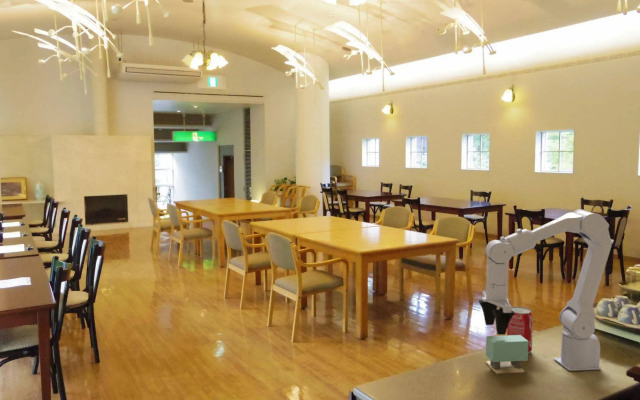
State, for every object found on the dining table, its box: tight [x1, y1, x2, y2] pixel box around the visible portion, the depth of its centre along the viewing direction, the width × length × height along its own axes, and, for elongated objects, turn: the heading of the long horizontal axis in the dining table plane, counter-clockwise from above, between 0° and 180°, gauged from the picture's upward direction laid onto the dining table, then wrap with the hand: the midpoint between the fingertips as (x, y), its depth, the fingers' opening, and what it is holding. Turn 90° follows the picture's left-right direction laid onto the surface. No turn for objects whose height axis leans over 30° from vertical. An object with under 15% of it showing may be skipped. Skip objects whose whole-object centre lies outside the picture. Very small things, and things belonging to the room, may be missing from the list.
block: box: [485, 335, 529, 362], centre depth 144 cm, size 10×5×6 cm, turn 96°
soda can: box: [506, 306, 534, 355], centre depth 156 cm, size 7×7×13 cm
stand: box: [485, 359, 525, 375], centre depth 145 cm, size 8×7×3 cm
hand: (495, 329), depth 147 cm, fingers open, 7 cm apart
